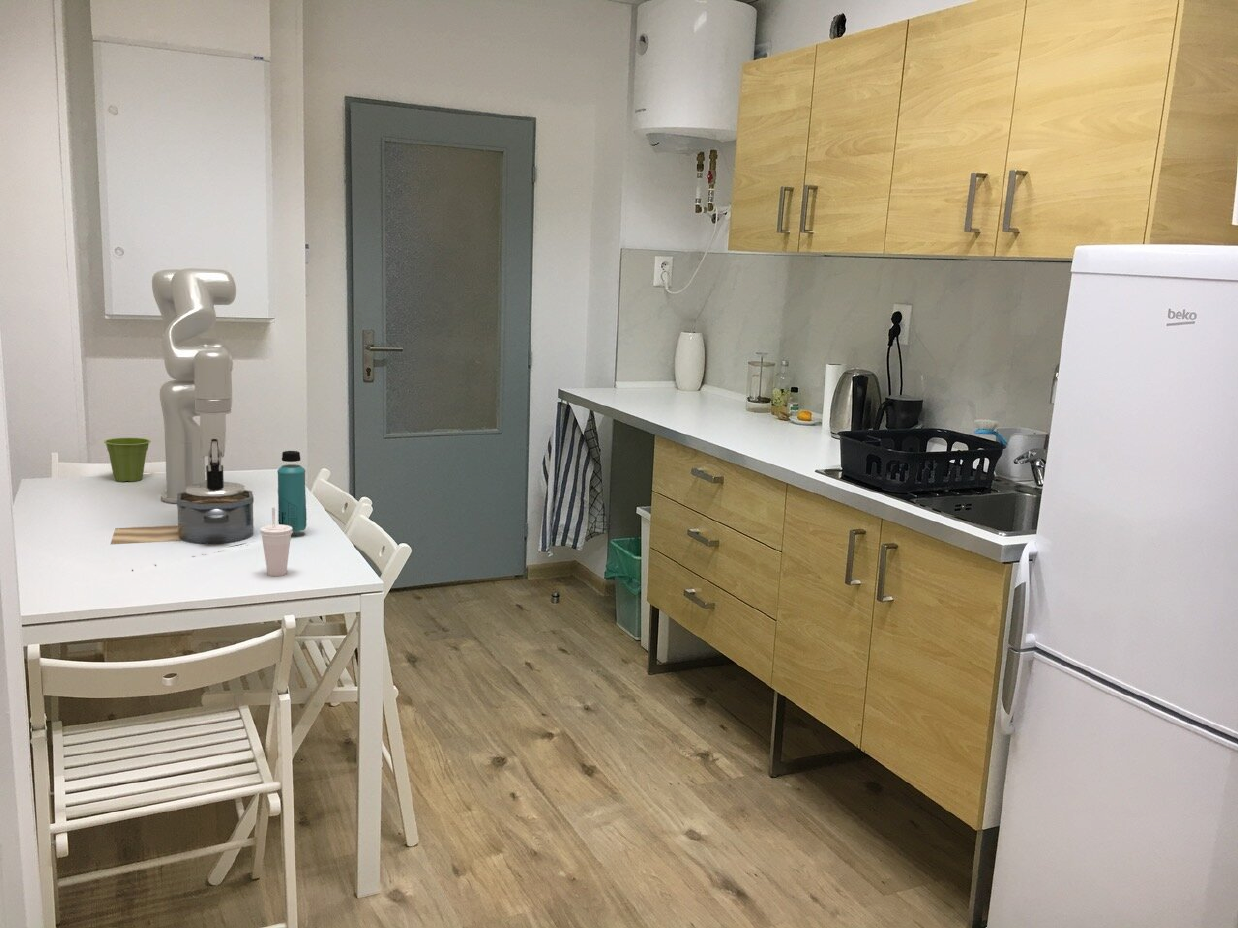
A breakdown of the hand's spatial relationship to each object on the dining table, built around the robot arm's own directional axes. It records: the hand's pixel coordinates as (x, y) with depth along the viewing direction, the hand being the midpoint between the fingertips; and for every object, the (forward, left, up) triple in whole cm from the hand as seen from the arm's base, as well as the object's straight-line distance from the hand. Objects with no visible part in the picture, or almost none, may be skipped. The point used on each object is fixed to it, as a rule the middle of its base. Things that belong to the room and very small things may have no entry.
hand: (215, 485), depth 231 cm
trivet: (+10, -11, -13) cm, 19 cm away
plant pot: (-22, -70, -13) cm, 74 cm away
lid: (0, 0, -1) cm, 1 cm away
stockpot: (0, 0, -13) cm, 13 cm away
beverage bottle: (-14, +9, -13) cm, 21 cm away
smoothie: (+8, +31, -13) cm, 34 cm away
